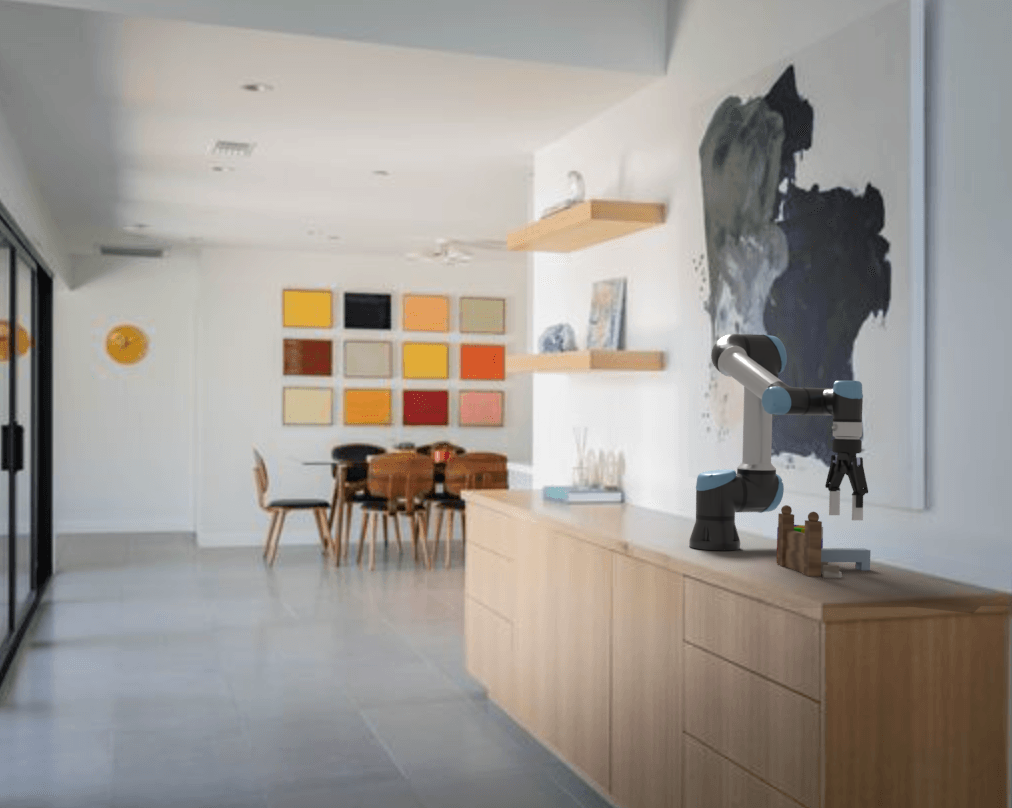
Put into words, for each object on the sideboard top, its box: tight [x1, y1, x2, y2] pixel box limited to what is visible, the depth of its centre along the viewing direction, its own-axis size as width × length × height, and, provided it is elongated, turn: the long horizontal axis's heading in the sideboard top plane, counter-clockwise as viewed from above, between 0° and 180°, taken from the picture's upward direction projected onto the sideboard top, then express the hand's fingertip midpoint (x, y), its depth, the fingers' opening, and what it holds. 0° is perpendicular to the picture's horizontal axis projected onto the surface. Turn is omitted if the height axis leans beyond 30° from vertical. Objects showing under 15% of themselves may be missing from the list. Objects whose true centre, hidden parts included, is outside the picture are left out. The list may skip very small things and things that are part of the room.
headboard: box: [776, 505, 843, 579], centre depth 307 cm, size 22×8×16 cm, turn 10°
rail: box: [821, 547, 871, 571], centre depth 312 cm, size 4×16×5 cm, turn 99°
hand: (845, 517), depth 312 cm, fingers open, 13 cm apart
